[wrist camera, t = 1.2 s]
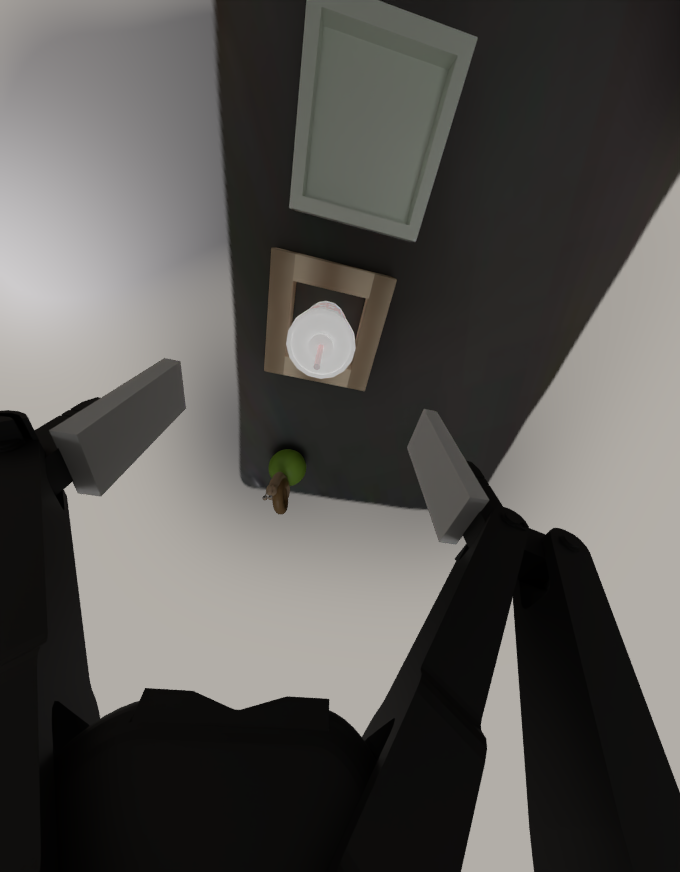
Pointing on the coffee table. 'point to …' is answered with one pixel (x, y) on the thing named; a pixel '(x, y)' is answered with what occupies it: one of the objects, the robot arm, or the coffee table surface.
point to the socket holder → (334, 277)
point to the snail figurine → (284, 477)
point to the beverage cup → (321, 341)
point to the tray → (374, 113)
